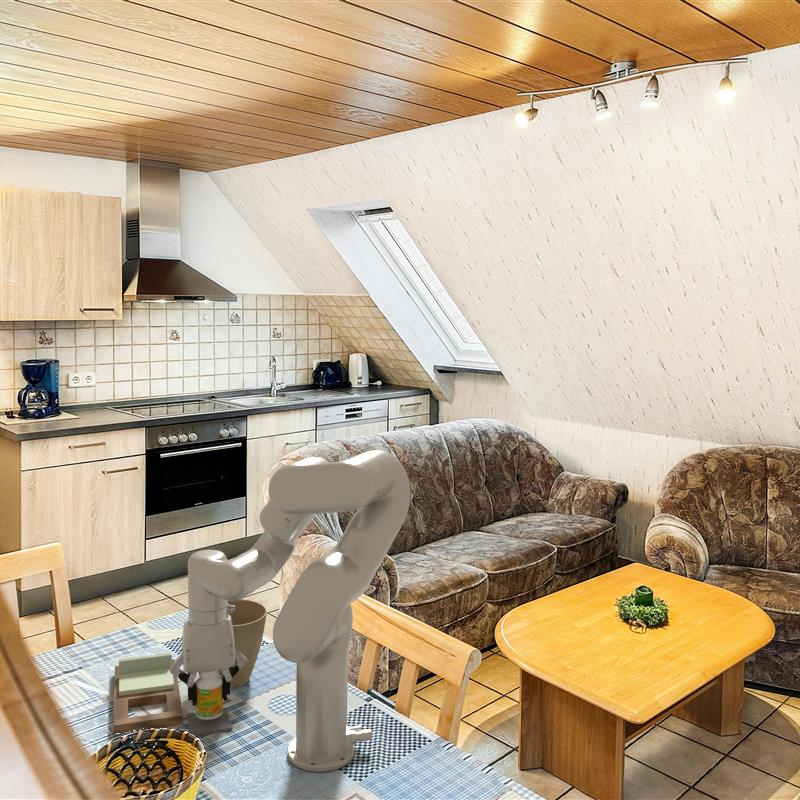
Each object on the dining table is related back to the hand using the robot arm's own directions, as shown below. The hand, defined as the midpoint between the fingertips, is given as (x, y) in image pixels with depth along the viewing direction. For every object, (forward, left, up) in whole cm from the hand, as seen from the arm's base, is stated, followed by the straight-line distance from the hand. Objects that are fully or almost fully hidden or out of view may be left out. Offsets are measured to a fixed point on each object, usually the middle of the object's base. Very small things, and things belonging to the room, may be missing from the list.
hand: (209, 699), depth 158 cm
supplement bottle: (0, 0, -3) cm, 3 cm away
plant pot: (-7, -17, -5) cm, 19 cm away
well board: (+12, -14, -5) cm, 19 cm away
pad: (0, 0, -5) cm, 5 cm away
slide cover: (+12, -17, -3) cm, 21 cm away
